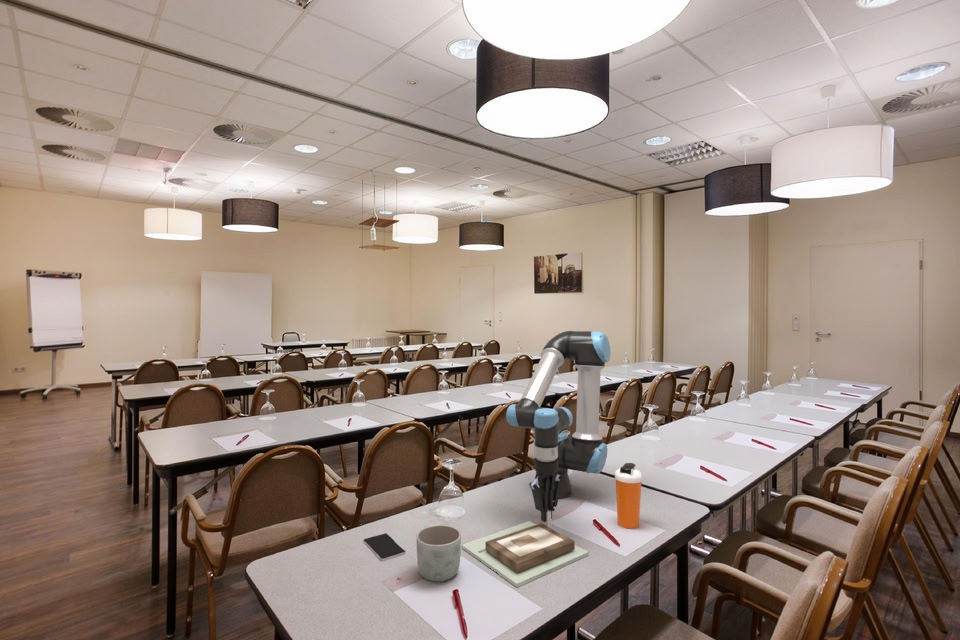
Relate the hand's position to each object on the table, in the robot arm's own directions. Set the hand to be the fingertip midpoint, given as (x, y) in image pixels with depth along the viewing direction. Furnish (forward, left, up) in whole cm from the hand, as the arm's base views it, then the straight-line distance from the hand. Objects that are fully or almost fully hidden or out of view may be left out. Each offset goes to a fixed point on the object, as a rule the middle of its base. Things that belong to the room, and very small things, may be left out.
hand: (546, 529), depth 155 cm
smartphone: (-25, -45, -3) cm, 52 cm away
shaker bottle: (+10, +29, -3) cm, 31 cm away
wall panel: (+3, -12, -2) cm, 13 cm away
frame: (+6, -12, -1) cm, 13 cm away
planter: (-2, -39, -3) cm, 39 cm away
